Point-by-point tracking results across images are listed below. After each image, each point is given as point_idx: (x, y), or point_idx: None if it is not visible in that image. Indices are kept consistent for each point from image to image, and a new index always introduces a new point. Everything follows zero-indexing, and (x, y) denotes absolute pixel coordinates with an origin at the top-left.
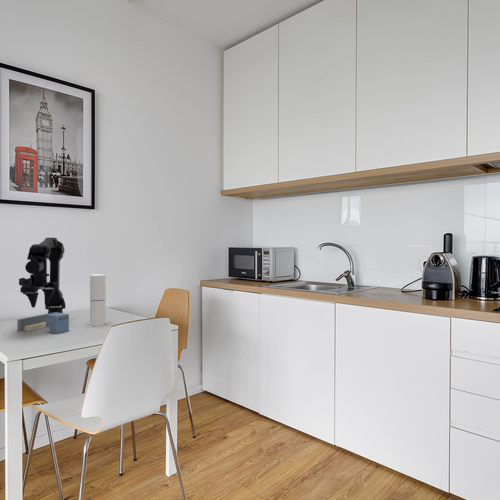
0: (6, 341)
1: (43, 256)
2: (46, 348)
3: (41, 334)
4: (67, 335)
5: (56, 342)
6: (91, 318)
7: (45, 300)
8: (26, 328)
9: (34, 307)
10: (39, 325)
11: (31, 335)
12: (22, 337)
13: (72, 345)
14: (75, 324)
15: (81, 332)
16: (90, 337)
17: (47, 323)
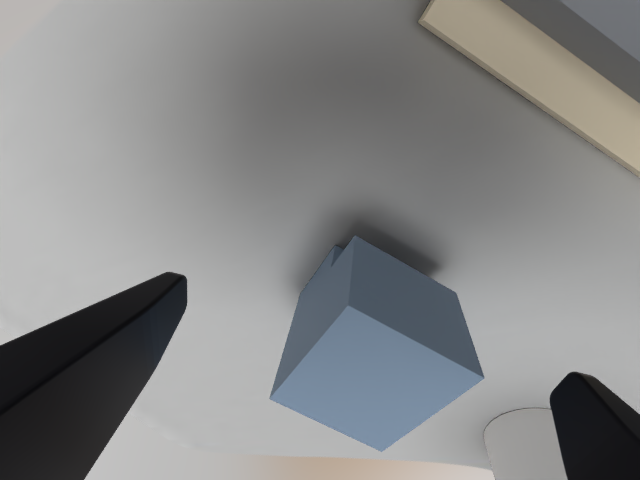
0: (52, 33)
1: None
2: (33, 322)
3: (286, 209)
4: (266, 349)
5: None
6: (519, 465)
7: (618, 450)
8: (425, 12)
9: (183, 303)
10: (543, 107)
11: (253, 148)
12: (186, 105)
13: None
14: (600, 335)
15: None
16: (236, 427)
17: (341, 268)
